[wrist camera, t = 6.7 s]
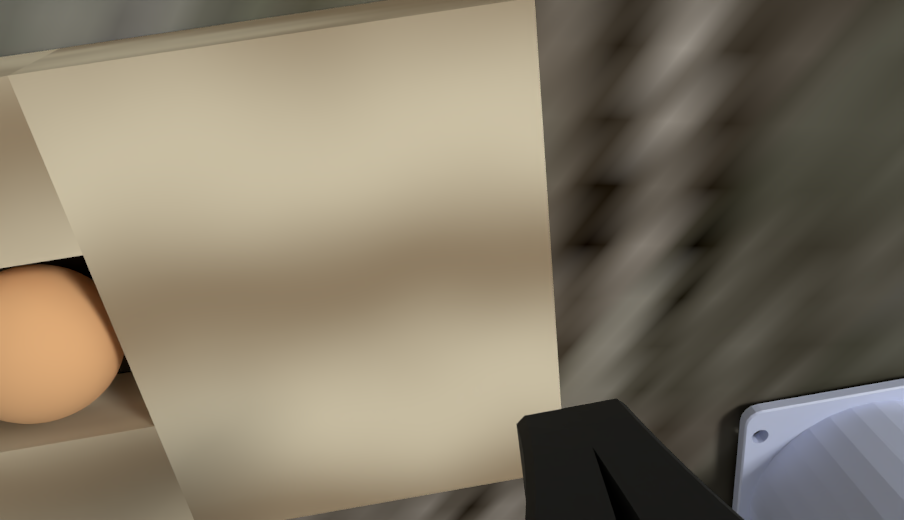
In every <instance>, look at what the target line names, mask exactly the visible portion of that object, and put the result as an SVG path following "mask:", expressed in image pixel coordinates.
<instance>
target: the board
mask: <svg viewBox="0 0 904 520" xmlns="http://www.w3.org/2000/svg"><path fill="white" fill-rule="evenodd" d="M81 255H83V256H84V259H85V261H86V264H87V266H88V268H89V271H90V273H91V276H92V278H93V280H94V283H95V285H96V287H97V290H98V292H99V295H100V297H101V299H102V302H103V304H104V307H105V309H106V311H107V314H108V316H109V318H110V321H111V323H112V326H113V328H114V330H115V333H116V335H117V337H118V340H119V342H120V345H121V347H122V349H123V352H124V354H125V357H126V359H127V361H128V364H129V366H130V368H131V371H132V372H127V373H121V374H116V376H115V378H114V380H113V381H112V383H111V384H110V385H109V387H108V388H107V389H106V390H105V391H104V392H103V393H102V394H101V395H100V396H99V397H98V398H97V399H96V400H95V401H93V402H92V403H91V404H90V405H88V406H87V407H85V408H84V409H82V410H80V411H78V412H76V413H74V414H72V415H70V416H67V417H65V418H62V419H59V420H55V421H51V422H46V423H38V424H18V423H11V422H5V421H2V420H0V520H286V519H292V518H298V517H303V516H309V515H315V514H320V513H326V512H332V511H337V510H343V509H349V508H354V507H360V506H365V505H371V504H377V503H382V502H388V501H394V500H399V499H405V498H411V497H416V496H422V495H428V494H433V493H439V492H445V491H450V490H456V489H462V488H467V487H473V486H479V485H484V484H490V483H496V482H501V481H507V480H512V479H518V478H523V473H522V465H521V457H520V449H519V441H518V433H517V425H516V424H517V423H518V422H519V421H520V420H521V419H522V418H523V417H524V416H525V415H531V414H536V413H541V412H547V411H552V410H558V409H561V398H560V383H559V368H558V352H557V337H556V322H555V306H554V291H553V275H552V260H551V245H550V229H549V214H548V198H547V183H546V168H545V152H544V137H543V122H542V106H541V91H540V75H539V60H538V45H537V29H536V14H535V0H386V1H379V2H372V3H365V4H358V5H352V6H345V7H338V8H331V9H324V10H318V11H311V12H304V13H297V14H291V15H284V16H277V17H270V18H263V19H257V20H250V21H243V22H236V23H229V24H223V25H216V26H209V27H202V28H196V29H189V30H182V31H175V32H168V33H162V34H155V35H148V36H141V37H134V38H128V39H121V40H114V41H107V42H100V43H94V44H87V45H80V46H73V47H67V48H60V49H53V50H46V51H39V52H33V53H26V54H19V55H12V56H5V57H0V268H6V267H12V266H19V265H25V264H31V263H37V262H44V261H50V260H56V259H62V258H69V257H75V256H81Z"/></svg>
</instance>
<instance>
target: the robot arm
mask: <svg viewBox="0 0 904 520" xmlns="http://www.w3.org/2000/svg"><path fill="white" fill-rule="evenodd" d="M516 425H517V433H518V441H519V449H520V457H521V465H522V473H523V480H524V488H525V496H526V517H525V520H904V378H903V379H898V380H892V381H886V382H880V383H875V384H869V385H863V386H858V387H852V388H846V389H840V390H835V391H829V392H823V393H818V394H812V395H806V396H800V397H795V398H789V399H783V400H778V401H772V402H766V403H760V404H756V405H753V406H750V407H749V408H747V409H746V410H745V411H744V412H743V414H742V415H741V418H740V427H739V438H738V449H737V460H736V471H735V483H734V494H733V505H732V508H731V507H730V506H728V505H727V504H726V503H725V502H724V501H723V500H722V499H721V498H720V497H718V496H717V495H716V494H715V493H714V492H713V491H712V490H711V489H709V488H708V487H707V486H706V485H705V484H704V483H703V482H702V481H701V480H700V479H699V478H698V477H697V476H696V475H694V474H693V473H692V472H691V471H690V470H689V469H688V468H687V467H686V466H685V465H684V464H683V463H682V462H681V461H680V460H679V459H678V458H677V457H676V456H675V455H674V454H673V453H672V452H671V451H670V450H669V449H668V448H667V447H666V446H665V445H664V444H663V443H662V442H661V441H660V440H659V439H658V438H657V437H656V436H655V435H654V434H653V433H652V432H651V431H650V430H649V429H648V428H647V427H646V426H645V425H644V424H643V423H642V422H641V421H640V420H639V419H638V418H637V417H636V416H635V415H634V413H633V412H632V411H631V410H630V409H629V408H628V407H627V406H626V405H625V404H624V403H622V402H621V401H619V400H618V399H612V400H606V401H601V402H595V403H590V404H585V405H579V406H574V407H568V408H563V409H558V410H552V411H547V412H541V413H536V414H531V415H525V416H524V417H523V418H522V419H521V420H520V421H519V422H518V423H517V424H516ZM757 431H759V432H758V433H756V432H757ZM754 433H756V434H754Z"/></svg>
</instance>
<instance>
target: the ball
mask: <svg viewBox="0 0 904 520" xmlns="http://www.w3.org/2000/svg"><path fill="white" fill-rule="evenodd" d="M123 356H124V352H123V349H122V347H121V345H120V342H119V340H118V337H117V335H116V333H115V330H114V328H113V326H112V323H111V321H110V318H109V316H108V314H107V311H106V309H105V307H104V304H103V302H102V299H101V297H100V295H99V292H98V290H97V287H96V285H95V283H94V281H93V280H92V279H90V278H89V277H87V276H85V275H83V274H81V273H79V272H77V271H74V270H71V269H68V268H65V267H60V266H54V265H45V264H36V265H23V266H18V267H13V268H10V269H6V270H3V271H1V272H0V420H2V421H5V422H11V423H18V424H38V423H46V422H51V421H55V420H59V419H62V418H65V417H67V416H70V415H72V414H74V413H76V412H78V411H80V410H82V409H84V408H85V407H87V406H88V405H90V404H91V403H92V402H93V401H95V400H96V399H97V398H98V397H99V396H100V395H101V394H102V393H103V392H104V391H105V390H106V389H107V388H108V387H109V385H110V384H111V383H112V381H113V380H114V378H115V376H116V374H117V373H118V371H119V368H120V366H121V363H122V360H123Z"/></svg>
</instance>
